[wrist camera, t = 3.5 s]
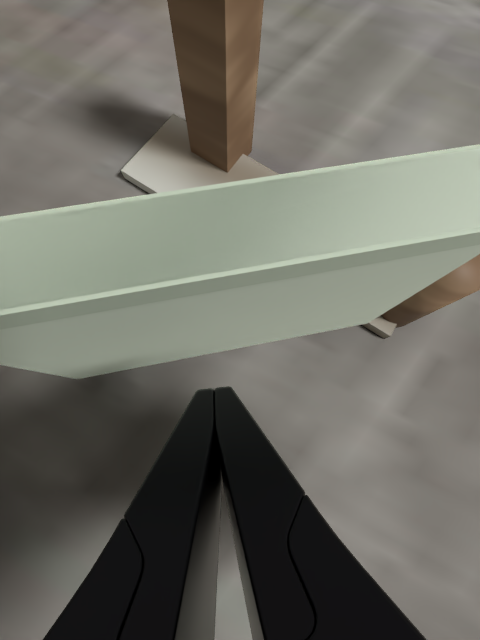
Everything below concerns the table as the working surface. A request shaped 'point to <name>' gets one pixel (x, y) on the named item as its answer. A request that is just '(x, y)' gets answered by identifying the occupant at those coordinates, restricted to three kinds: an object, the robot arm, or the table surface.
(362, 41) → the table surface
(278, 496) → the robot arm
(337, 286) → the pale green flat panel
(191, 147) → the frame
